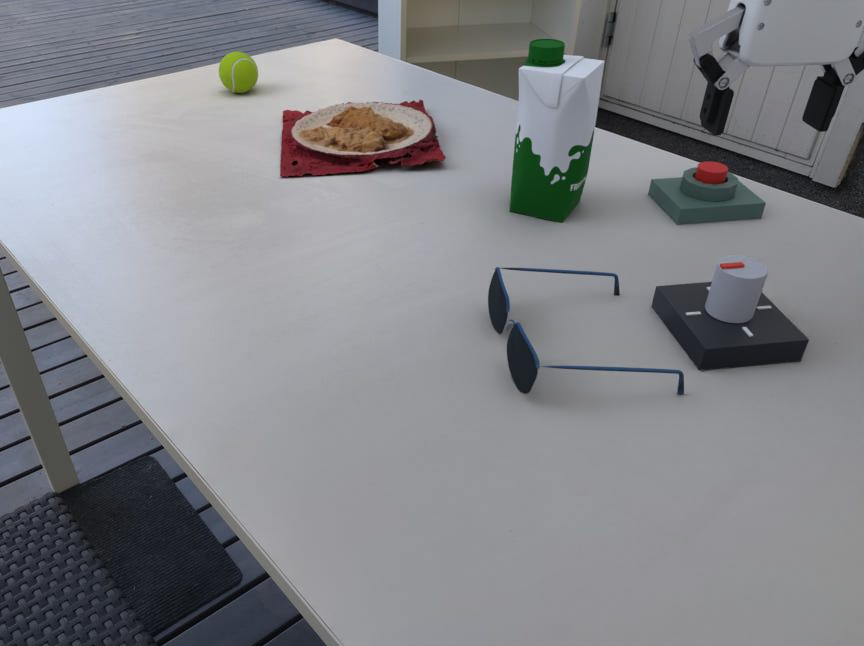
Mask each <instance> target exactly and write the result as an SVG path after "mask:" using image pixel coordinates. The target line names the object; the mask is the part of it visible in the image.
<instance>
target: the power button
mask: <svg viewBox="0 0 864 646" xmlns="http://www.w3.org/2000/svg"><path fill="white" fill-rule="evenodd" d="M696 167H697V170H696V174H695V179H696V180H697V181H700V182H703V183H707V184H723V183H725V180H726V176H727V173H728V172H729V167H728V165H726V164H724V163H721V162H717V161H701V162H699V163H698V164H697V165H696Z"/></svg>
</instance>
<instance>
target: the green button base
mask: <svg viewBox="0 0 864 646" xmlns="http://www.w3.org/2000/svg"><path fill="white" fill-rule="evenodd" d="M696 170H697V166H696V167H690V168H688V169H685V170H684V171H683V173H682V176H680V177H665V178H663V177H662V178H652V179H650V183H649V188H648V193H647V195H648V196H649V197H650V198H651V199H652V200H653V201H654V202H655V203H656V204H657V206H658V207H659V208H660V209H661V210H662V211H663V212H664V213H665V214H666V215H667V217H669V218H670V219H671V221H672V222H674V223H675V224H676V226H680V225H692V224H693V225H694V224H707V223H709V224H710V223H719V222H721V223H722V222H735V221H746V220H749V221H750V220H761V219H762V217H763V214H764V211H765V207H766V205H767V202H766V201H765V200H763V198H761V197H760V196H759V195H757V194H756V193H755V192H754V191H752V190H751V189H750V188H749V187H747V186H746V185H745V184H744V183H743V182H741V181H740V180H739V177H737V176H735V174H733V173H732V172H730V171H728V173H727V176H726V180H725V183H723V184H707V183H703V182H700V181H697V180H696V179H695V174H696Z"/></svg>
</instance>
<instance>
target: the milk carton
mask: <svg viewBox="0 0 864 646" xmlns="http://www.w3.org/2000/svg"><path fill="white" fill-rule="evenodd" d="M565 48H566V43H565V42H564V41H562V40H559V39H555V38H537V39H533V40H531V41H530V42H529V45H528V55H527V56H528V58H527V59H526V60H525V63H523V64H522V65H521V66H519V68H518V102H517V103H518V104H517V115H516V125H515V126H516V127H515V135H514V136H515V137H514V148H513V149H514V150H513V157H512V159H513V160H512V171H511V182H510V183H511V184H510V199H509V212H511V213H516V214H521V215H526V216H530V217H534V218H538V219H541V220H542V219H543V220H547V221H552V222H557V223H561V224H562V223H564V221H565V220H566V219H567V218H568V216H569V215H571V213H572V212H573V210H574V209H575V208H576V207H577V206H578V204H580V202H581V199H582V196H583V192H584V188H585V184H586V181H587V177H588V173H589V166H590V161H591V155H592V149H593V141H594V137H595V129H596V124H597V117H598V110H599V104H600V97H601V90H602V89H601V88H602V81H603V74H604V67H605V63H606V62H605V61H606V60H603V59H602V60H601V59H595V58H594V59H593V58H588V57H587V58H586V57H584V56H582V55H570V54H565Z"/></svg>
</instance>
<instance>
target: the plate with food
mask: <svg viewBox="0 0 864 646" xmlns="http://www.w3.org/2000/svg"><path fill="white" fill-rule="evenodd" d="M436 134H437V128H436V124H435V121H434V119H433V117H432V116H431V115H429V112H427V111H426V108H425V104H424V100H423V99H421V98H420V99H418V101H416V100H414V99H413V100H411V101H410V102H408V101H407V100H406V101H403V102H400V103H392V102H390V103H389V102H383V101H380V102H379V101H370V102H369V101H367V102H351V101H348V102H346V103H344V102H342V103H340V104H334V105H330V106H327V107H324V108H319V109H318V110H317V111H310V110H305V111H304V112H302V111H301V110H297V109H295V110H292V109H285V110H282V129H281V144H280V147H281V148H280V149H281V150H280V165H279V167H280V168H279V169H280V172H279V176H280V177H285V178H289V177H291V176H292V177H295V176H298V177H303V176H304V175H306V174H311V175H312V176H325V175H329V174H330V175H331V174H333V175H335V174H342V173H355V172H356V173H360V172H368V171H370V170H372V169H377V168H379V164H378V163H376V162H375V160H378V159H379V160H381V159H389V161H388V164H390V165H394V164H397V163H398V164H399V163H400V166H402V167H405V166H406V167H415V166H417V165H423V164H424V165H427V164H428V163H431V162H432V161H433V162H438V164H439V163H441V162H443V161H445V160H446V158H447V156H446V155H445V154H444V152H443V151H442V148H441V145H440V142H439V136H438V135H436ZM405 155H407V156H405ZM404 156H405V157H404ZM399 157H401V158H399ZM295 161H296V162H297V164H295V165H293V163H295Z"/></svg>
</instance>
